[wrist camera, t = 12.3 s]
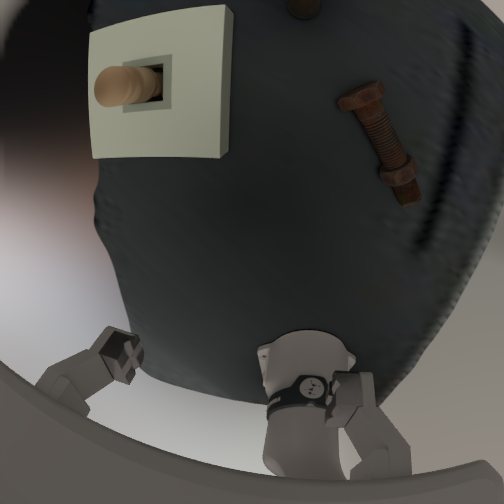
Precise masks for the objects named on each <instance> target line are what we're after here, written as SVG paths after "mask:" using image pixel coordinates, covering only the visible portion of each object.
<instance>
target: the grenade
mask: <svg viewBox="0 0 504 504" xmlns="http://www.w3.org/2000/svg"><path fill="white" fill-rule="evenodd" d="M320 8H321V6H320V0H287V9H288V11H289V12H290V14H292V15H293V16H294V17H296V18H298V19H303V20H307V19H312V18H314V17H315V16H316V15H317V14H318V13H319V11H320Z"/></svg>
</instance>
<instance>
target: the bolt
mask: <svg viewBox="0 0 504 504" xmlns="http://www.w3.org/2000/svg"><path fill="white" fill-rule="evenodd" d="M385 92H386V89H385V88H384V86H383V84H382V82H380V81H372V82H369V83H367V84H364V85H362V86H360V87H357V88H355V89H353V90H351V91H349V92H347V93H346V94H344V95H342V96H341V97H339V99H338V105H339V107H340V109H341V110H342V112H346V111H350V110H354V112H355V114H356V116H357V117H358V119H359V120H360V121H361V123H362V125H364V128H365V130H366V133H368V136H369V138H370V140H371V141H372V144H373V146H374V148H375V150H376V151H377V154H378V156H379V158H380V160H381V163H382V166H381V167H380V174H379V175H380V177H381V179H382V182H383V183H384V184H386V185H389V186H392V187H393V190H394V192H395V194H396V197H397V199H398V202H399V204H400V205H401V206H403V207H408V206H412V205H415V204H418V203H419V202H420V200H421V197H422V195H421V193H420V190H419V188H418V185H417V182H416V179H415V177H416V175H417V164H416V162H415V159H414V158H413V157H411V156H409V155H406V154H405V152H404V149H403V147H402V145H401V143H400V141H399V138H398V136H397V134H396V133H395V130H394V128H393V126H392V123H391V122H390V120H389V117H388V115H387V114H386V111H385V107H384V106H383V104H382V102H381V100H380V98H381V97H383V95H384V94H385Z"/></svg>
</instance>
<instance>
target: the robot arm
mask: <svg viewBox="0 0 504 504" xmlns="http://www.w3.org/2000/svg"><path fill="white" fill-rule="evenodd" d="M139 341H140V339H139V336H138V335H136V334H133V333H130V332H126V331H123V330H120V329H117V328H114V327H111V326H108V327H106V328H105V329H104V331H103V332H102V333H101V334H100V336H99V337H98V338H97V340H96V341H95V342H94V344H93V345H92V346H91V348H90V349H89V350H87V349H86V350H84V351H81V352H79V353H77V354H75V355H73V356H71V357H69V358H67V359H65V360H62V361H60V362H58V363H56V364H54V365H52V366H50V367H48V368H47V370H46V371H45V372H44V374H43V375H42V376H41V378H40V379H39V381H38V382H37V383H36V385H35V386H34V385H32V384H31V383H29V382H28V381H26V380H25V379H24V378H22V377H21V376H20V375H18V374H17V373H15V372H14V371H13V370H11V369H10V368H9V367H8V366H6V365H5V364H4V363H3V362H2V361H0V504H504V483H503V479H502V477H501V476H500V474H499V473H498V472H497V471H496V470H495V469H494V468H493V467H492V466H491V465H490V464H489V463H488V462H487V461H485V460H477V461H474V462H470V463H467V464H463V465H459V466H455V467H451V468H446V469H442V470H437V471H432V472H427V473H421V474H414V475H412V469H411V468H412V467H411V451H410V446H409V444H408V443H407V442H406V440H405V439H404V438H403V437H402V435H401V434H400V433H399V432H398V430H397V429H396V428H395V427H394V425H393V424H392V423H391V422H390V420H389V419H388V418H387V416H386V415H385V414H384V413H383V412H382V410H381V409H380V408H379V407H376V402H375V391H374V382H373V374H372V373H371V372H358V371H349V370H350V369H351V367H352V366H353V365H354V364H355V362H356V357H355V356H354V355H353V354H351V353H350V352H348V351H347V350H346V348H345V346H344V345H343V343H342V342H341V341H340V340H339V339H338V338H336V337H335V336H333V335H331V334H328V333H325V332H321V331H314V330H302V331H296V332H291V333H288V334H286V335H283V336H281V337H280V338H278V339H277V340H275V341H274V342H272V343H270V344H266V345H262V346H260V347H258V352H257V354H258V358H259V363H260V367H261V371H262V376H263V386H264V387H265V390H266V393H267V396H268V398H269V402H268V406H267V420H268V427H267V433H266V438H265V445H264V451H263V462H264V464H265V466H266V467H267V468H268V469H269V470H270V471H271V472H272V473H274V474H275V475H277V476H271V475H264V474H258V473H252V472H246V471H240V470H235V469H230V468H225V467H221V466H217V465H212V464H208V463H204V462H200V461H197V460H193V459H190V458H186V457H182V456H180V455H176V454H173V453H170V452H167V451H164V450H161V449H158V448H156V447H153V446H150V445H147V444H145V443H142V442H140V441H137V440H134V439H132V438H130V437H127V436H125V435H122V434H120V433H118V432H116V431H113V430H111V429H109V428H107V427H105V426H103V425H101V424H99V423H97V422H95V421H93V420H91V419H89V418H87V415H88V413H89V411H90V408H89V406H88V405H87V403H86V402H85V401H84V400H86V399H87V398H89V397H90V396H92V395H93V394H95V393H96V392H98V391H99V390H101V389H102V388H104V387H105V386H107V385H108V384H110V383H111V382H113V381H114V380H116V381H119V382H122V383H125V384H128V385H130V383H131V381H132V379H133V378H134V376H135V369H136V368H138V367H140V366H141V364H142V362H143V358H144V350H143V347H142V346H141V345H140V344H139ZM338 427H342V428H344V429H345V431H346V433H347V435H348V436H349V438H350V440H351V441H352V443H353V445H354V447H355V449H356V450H357V452H358V454H359V456H360V457H361V459H362V461H361V462H360V463H359V464H357V465H356V466H355V467H354V468H353V469H352V470H351V472H350V480H347V479H346V478H345V476H344V474H343V471H342V469H341V465H340V459H339V443H338Z"/></svg>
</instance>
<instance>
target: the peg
mask: <svg viewBox="0 0 504 504" xmlns="http://www.w3.org/2000/svg"><path fill="white" fill-rule="evenodd" d="M94 95H95V98H96V100H97V102H98V103H99V104H100V105H102V106H104V107H115V106H121V105H127V104H133V103H142V102H146V101H148V100H149V99H151V98H152V97H156V96H163V73H160V72H154V71H153V70H152V69H150V68H148V67H129V66H110V67H107V68H105V69H104V70H103V71H101V73H100V74H99V75H98V77H97V79H96V81H95V85H94Z"/></svg>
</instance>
